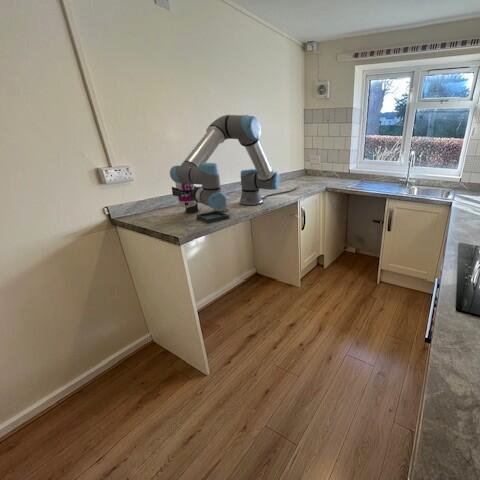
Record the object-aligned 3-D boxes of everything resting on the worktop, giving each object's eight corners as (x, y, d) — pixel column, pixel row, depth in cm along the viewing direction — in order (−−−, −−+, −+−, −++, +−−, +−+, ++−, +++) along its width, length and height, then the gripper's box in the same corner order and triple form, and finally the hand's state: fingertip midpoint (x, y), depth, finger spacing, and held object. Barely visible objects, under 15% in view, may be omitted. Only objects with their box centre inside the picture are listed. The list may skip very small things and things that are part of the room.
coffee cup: (196, 214, 153) (192, 188, 147) (180, 213, 153) (175, 188, 147) (203, 209, 162) (200, 185, 156) (188, 209, 162) (184, 185, 156)
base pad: (217, 213, 155) (217, 210, 154) (229, 218, 147) (228, 214, 146) (196, 218, 146) (196, 214, 145) (208, 223, 138) (207, 219, 137)
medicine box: (227, 209, 164) (225, 196, 161) (227, 211, 160) (225, 197, 157) (213, 210, 161) (212, 196, 158) (213, 212, 158) (212, 198, 154)
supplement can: (199, 205, 137) (194, 177, 131) (182, 208, 131) (177, 178, 126) (193, 202, 142) (189, 175, 136) (177, 205, 137) (172, 176, 131)
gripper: (181, 207, 117) (161, 198, 130) (223, 199, 132) (202, 192, 145) (178, 190, 114) (158, 183, 127) (222, 185, 129) (200, 179, 142)
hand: (181, 188), depth 136 cm, fingers closed on supplement can, 8 cm apart
